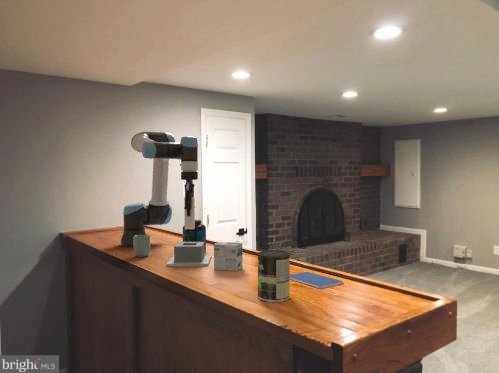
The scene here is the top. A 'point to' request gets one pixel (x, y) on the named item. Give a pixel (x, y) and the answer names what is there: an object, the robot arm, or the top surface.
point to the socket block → (189, 255)
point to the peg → (192, 226)
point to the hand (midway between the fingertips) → (189, 222)
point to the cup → (141, 245)
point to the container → (195, 233)
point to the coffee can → (273, 275)
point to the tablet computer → (315, 280)
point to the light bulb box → (228, 256)
